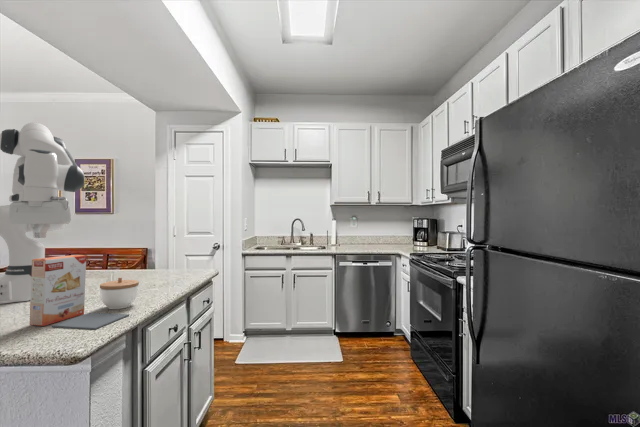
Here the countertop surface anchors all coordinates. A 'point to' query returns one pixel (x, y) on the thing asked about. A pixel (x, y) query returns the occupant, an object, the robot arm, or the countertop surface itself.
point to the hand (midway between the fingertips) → (39, 237)
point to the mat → (91, 321)
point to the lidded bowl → (119, 293)
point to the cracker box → (57, 289)
